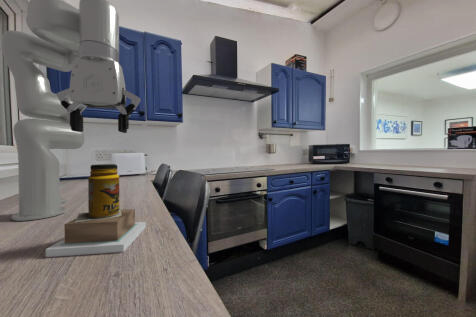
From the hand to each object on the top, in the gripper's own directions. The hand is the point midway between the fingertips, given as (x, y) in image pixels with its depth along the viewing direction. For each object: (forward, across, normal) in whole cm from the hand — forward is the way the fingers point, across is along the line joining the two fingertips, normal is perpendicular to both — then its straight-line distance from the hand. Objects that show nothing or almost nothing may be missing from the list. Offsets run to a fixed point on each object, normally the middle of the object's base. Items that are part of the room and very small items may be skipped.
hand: (100, 131), depth 46 cm
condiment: (+20, 0, 0) cm, 20 cm away
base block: (+24, +1, 0) cm, 24 cm away
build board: (+25, +1, 0) cm, 25 cm away
